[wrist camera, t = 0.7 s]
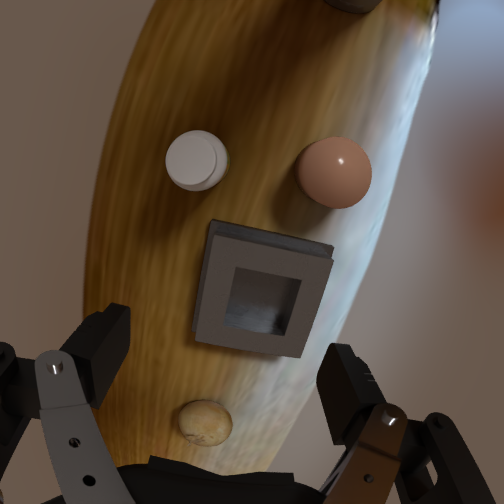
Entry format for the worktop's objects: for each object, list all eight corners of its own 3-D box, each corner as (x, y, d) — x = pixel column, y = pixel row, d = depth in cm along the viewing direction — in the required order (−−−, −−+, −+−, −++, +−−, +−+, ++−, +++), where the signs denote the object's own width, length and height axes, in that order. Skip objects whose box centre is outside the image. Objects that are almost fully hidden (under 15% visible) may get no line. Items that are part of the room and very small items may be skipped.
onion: (216, 386, 39) (212, 421, 33) (241, 418, 42) (242, 452, 35) (171, 400, 40) (162, 434, 33) (199, 430, 42) (194, 462, 36)
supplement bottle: (240, 163, 31) (240, 162, 22) (203, 196, 32) (187, 209, 23) (208, 127, 30) (194, 111, 21) (171, 160, 31) (143, 159, 21)
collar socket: (212, 218, 33) (208, 225, 29) (331, 245, 34) (342, 255, 30) (192, 327, 36) (187, 344, 33) (298, 345, 38) (304, 363, 34)
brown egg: (302, 133, 30) (312, 127, 26) (359, 151, 31) (378, 149, 26) (287, 193, 32) (295, 198, 28) (345, 209, 33) (361, 216, 28)
